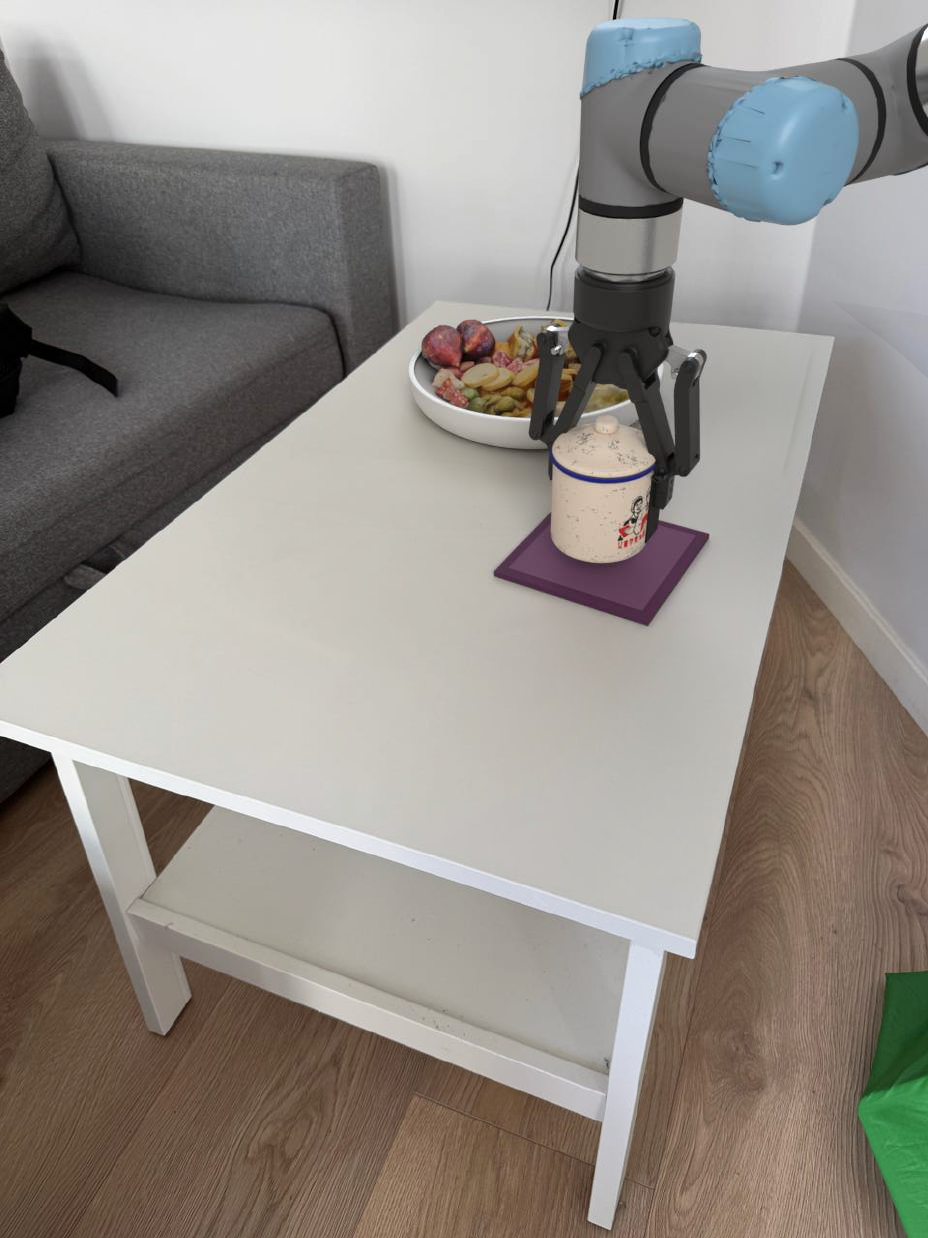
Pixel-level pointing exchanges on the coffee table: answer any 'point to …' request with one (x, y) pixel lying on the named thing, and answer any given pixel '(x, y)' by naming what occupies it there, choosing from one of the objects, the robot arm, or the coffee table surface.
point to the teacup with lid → (600, 491)
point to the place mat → (607, 571)
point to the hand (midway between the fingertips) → (605, 522)
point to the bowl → (499, 381)
